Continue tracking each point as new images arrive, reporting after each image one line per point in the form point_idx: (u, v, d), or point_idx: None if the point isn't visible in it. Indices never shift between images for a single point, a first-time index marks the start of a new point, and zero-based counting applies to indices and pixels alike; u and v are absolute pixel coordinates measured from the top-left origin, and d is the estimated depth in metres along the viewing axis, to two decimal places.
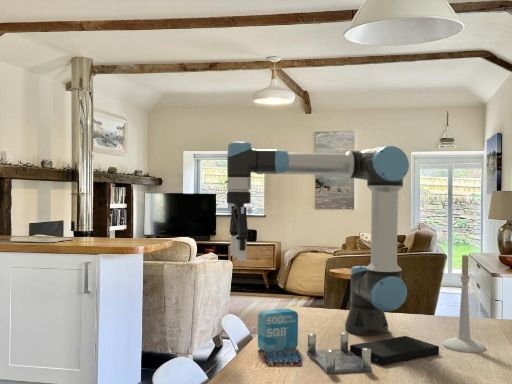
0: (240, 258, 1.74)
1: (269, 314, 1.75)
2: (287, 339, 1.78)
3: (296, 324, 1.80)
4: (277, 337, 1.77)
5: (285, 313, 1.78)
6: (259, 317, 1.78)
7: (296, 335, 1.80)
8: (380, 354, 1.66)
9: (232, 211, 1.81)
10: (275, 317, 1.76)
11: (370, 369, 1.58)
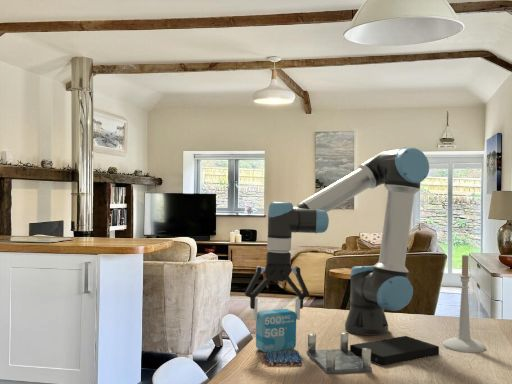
0: (253, 316, 1.78)
1: (267, 314, 1.75)
2: (285, 339, 1.78)
3: (294, 324, 1.79)
4: (275, 337, 1.76)
5: (283, 313, 1.78)
6: (257, 317, 1.77)
7: (294, 335, 1.79)
8: (380, 354, 1.66)
9: None
10: (273, 317, 1.76)
11: (370, 369, 1.58)
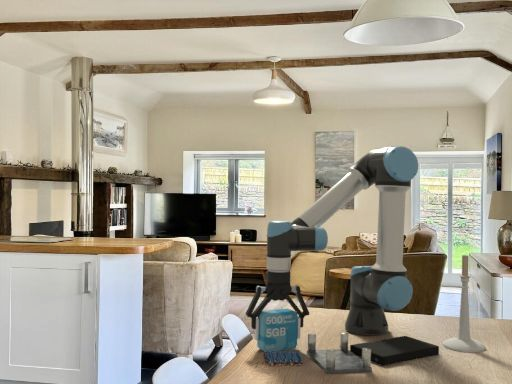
0: (254, 336, 1.78)
1: (268, 314, 1.75)
2: (286, 339, 1.78)
3: (296, 324, 1.79)
4: (277, 337, 1.77)
5: (284, 313, 1.78)
6: (258, 317, 1.77)
7: (296, 335, 1.79)
8: (380, 354, 1.66)
9: None
10: (274, 317, 1.76)
11: (370, 369, 1.58)
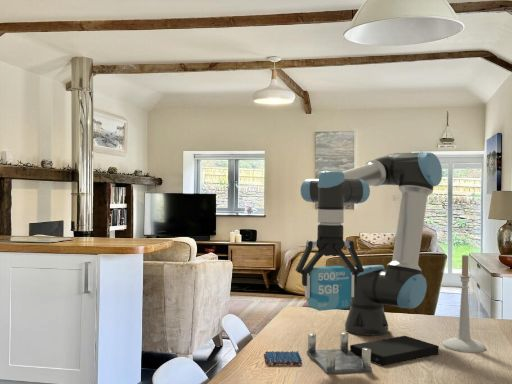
0: (305, 294, 1.67)
1: (321, 270, 1.64)
2: (339, 297, 1.67)
3: (349, 281, 1.68)
4: (329, 294, 1.65)
5: (337, 269, 1.66)
6: (309, 273, 1.66)
7: (349, 293, 1.68)
8: (381, 354, 1.66)
9: None
10: (327, 273, 1.65)
11: (370, 369, 1.58)
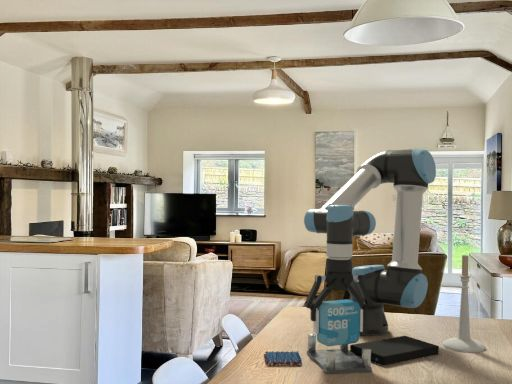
0: (314, 329, 1.65)
1: (330, 305, 1.62)
2: (348, 332, 1.65)
3: (358, 316, 1.66)
4: (339, 330, 1.64)
5: (346, 304, 1.65)
6: (318, 308, 1.65)
7: (358, 328, 1.67)
8: (381, 354, 1.66)
9: None
10: (336, 309, 1.63)
11: (370, 369, 1.58)
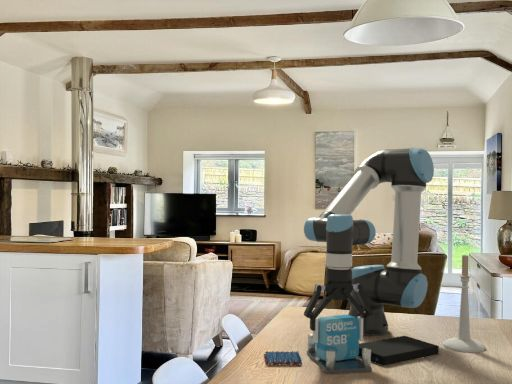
0: (313, 338, 1.65)
1: (329, 320, 1.63)
2: (348, 347, 1.65)
3: (357, 331, 1.67)
4: (338, 345, 1.64)
5: (345, 319, 1.65)
6: None
7: (357, 343, 1.67)
8: (381, 354, 1.66)
9: None
10: (335, 324, 1.64)
11: (370, 369, 1.58)
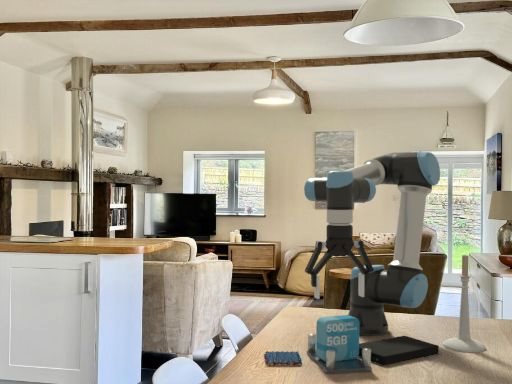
0: (315, 294, 1.66)
1: (329, 321, 1.63)
2: (348, 348, 1.65)
3: (357, 332, 1.67)
4: (338, 346, 1.64)
5: (346, 320, 1.65)
6: (318, 324, 1.65)
7: (357, 344, 1.67)
8: (381, 354, 1.66)
9: None
10: (335, 325, 1.63)
11: (370, 369, 1.58)
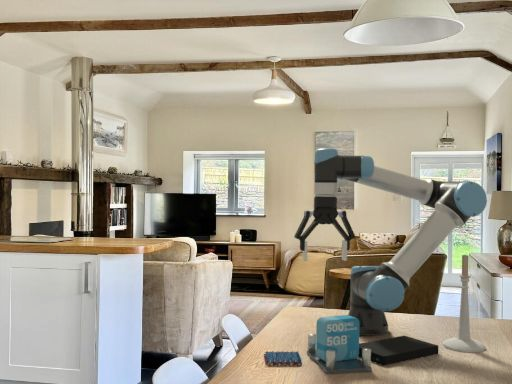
0: (303, 258, 1.87)
1: (329, 321, 1.63)
2: (348, 348, 1.65)
3: (357, 332, 1.67)
4: (338, 346, 1.64)
5: (346, 320, 1.65)
6: (318, 324, 1.65)
7: (357, 344, 1.67)
8: (381, 354, 1.66)
9: None
10: (335, 325, 1.63)
11: (370, 369, 1.58)
